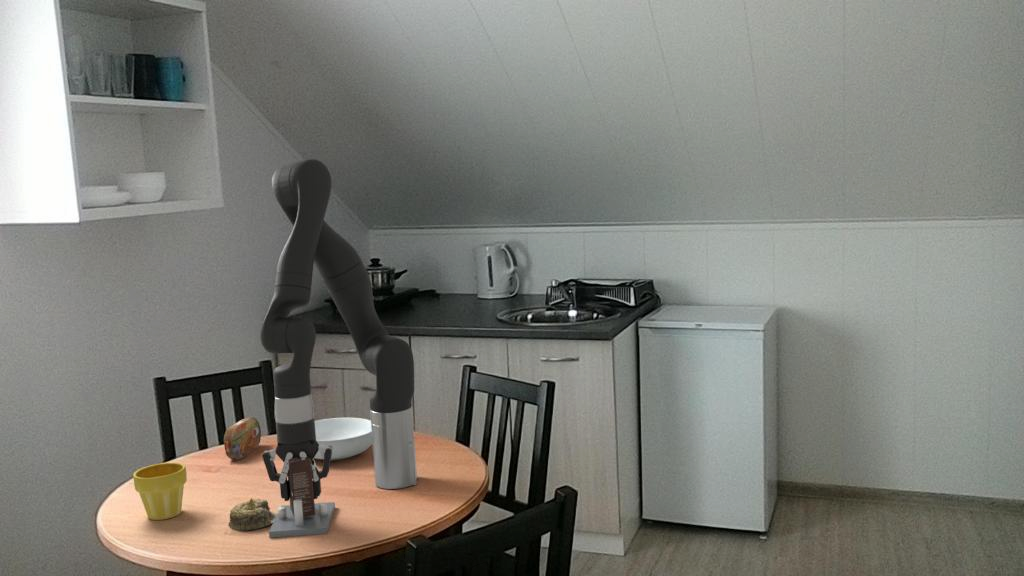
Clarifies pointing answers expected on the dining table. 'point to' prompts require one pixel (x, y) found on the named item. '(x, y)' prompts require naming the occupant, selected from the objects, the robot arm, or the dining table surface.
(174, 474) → the plant pot
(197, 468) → the dining table surface
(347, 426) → the serving bowl
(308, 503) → the box
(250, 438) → the tin
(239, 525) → the sea snail shell
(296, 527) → the pin tray
